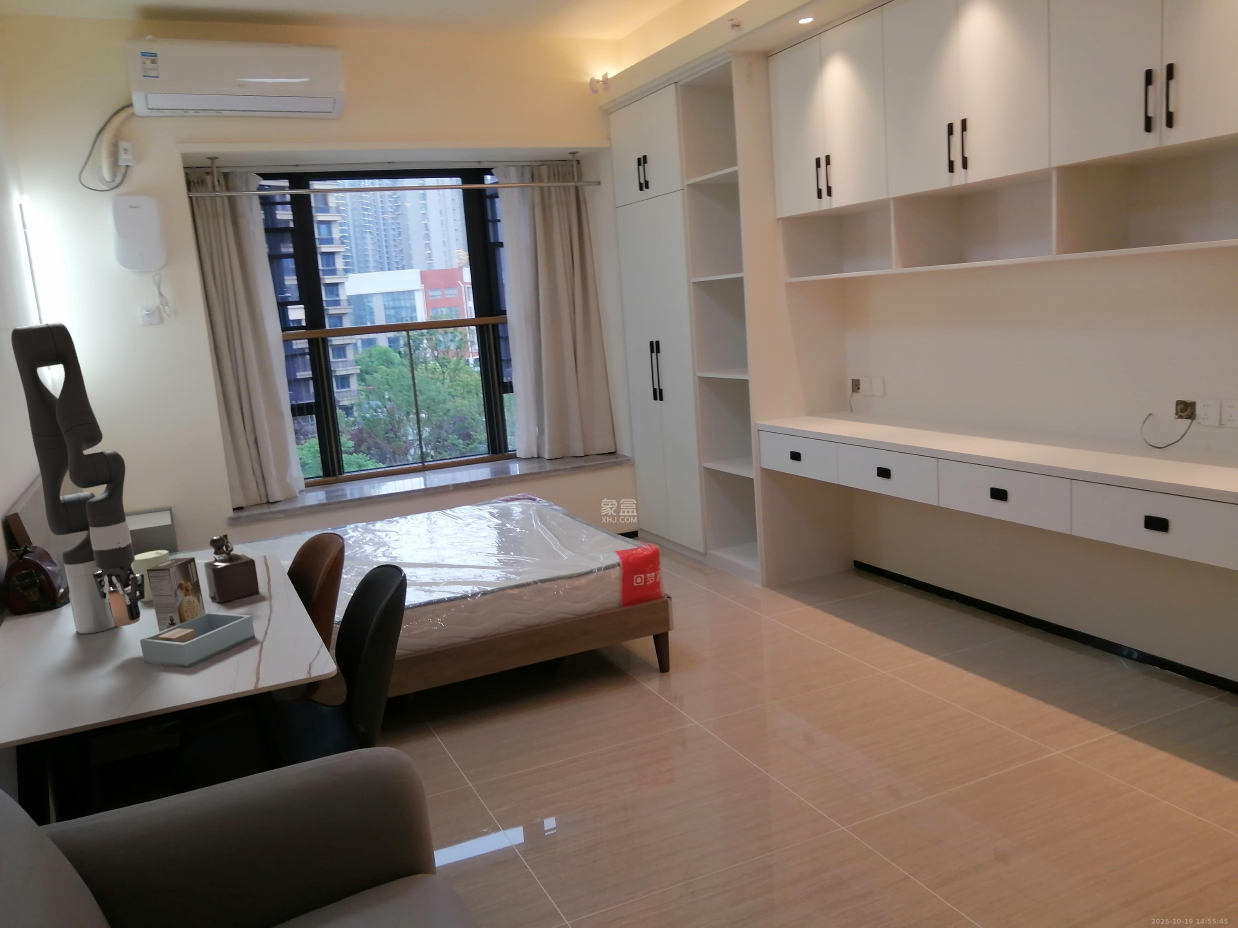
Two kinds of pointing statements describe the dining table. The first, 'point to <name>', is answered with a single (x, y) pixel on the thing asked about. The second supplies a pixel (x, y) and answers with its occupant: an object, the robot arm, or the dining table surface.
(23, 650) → the dining table surface
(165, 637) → the walnut cube
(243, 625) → the tote
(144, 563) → the can
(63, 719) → the dining table surface
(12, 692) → the dining table surface
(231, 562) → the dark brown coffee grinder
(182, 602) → the coffee box
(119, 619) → the peach rounded cylinder
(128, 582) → the robot arm
